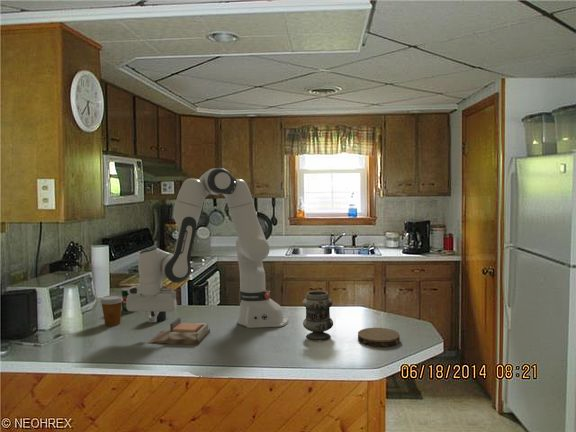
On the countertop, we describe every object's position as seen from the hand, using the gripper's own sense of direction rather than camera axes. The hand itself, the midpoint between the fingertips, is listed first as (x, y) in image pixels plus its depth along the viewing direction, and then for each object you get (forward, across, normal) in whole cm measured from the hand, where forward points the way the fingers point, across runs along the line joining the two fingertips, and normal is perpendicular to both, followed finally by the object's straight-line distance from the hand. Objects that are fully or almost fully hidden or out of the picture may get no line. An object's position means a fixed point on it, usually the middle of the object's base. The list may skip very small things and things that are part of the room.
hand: (152, 321), depth 197 cm
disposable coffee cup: (+6, +25, -16) cm, 31 cm away
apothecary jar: (+7, -67, -5) cm, 67 cm away
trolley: (+5, -14, +1) cm, 15 cm away
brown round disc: (+8, -90, -3) cm, 90 cm away
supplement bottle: (+6, +7, -24) cm, 26 cm away
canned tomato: (+6, +27, -38) cm, 47 cm away
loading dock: (+7, -11, 0) cm, 13 cm away
